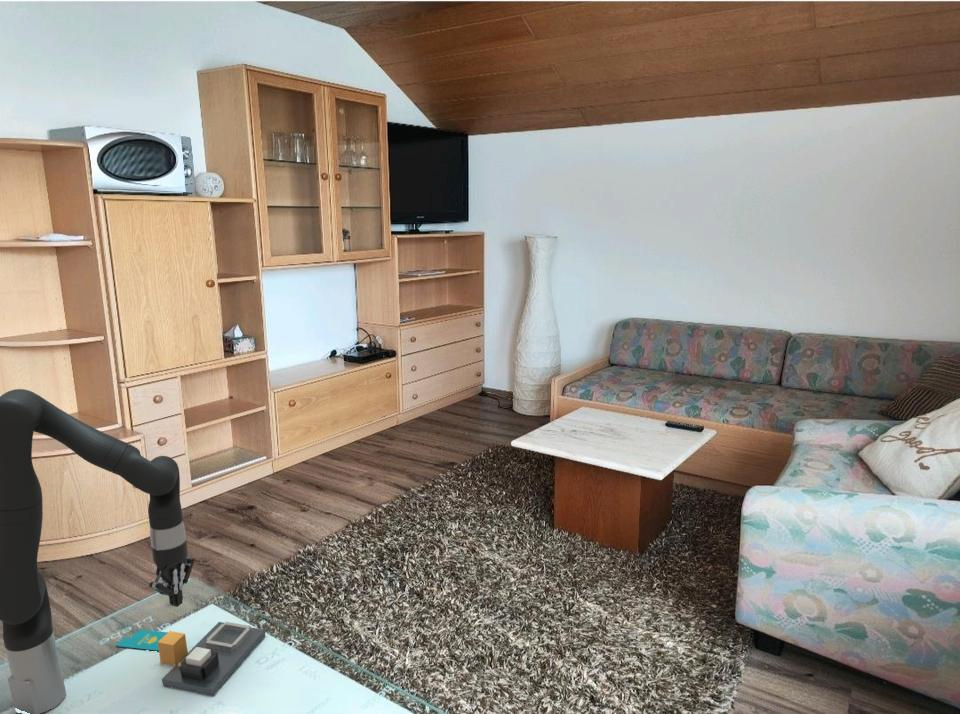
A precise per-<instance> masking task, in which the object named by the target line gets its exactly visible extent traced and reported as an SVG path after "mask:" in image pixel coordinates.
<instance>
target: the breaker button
mask: <svg viewBox="0 0 960 714" xmlns="http://www.w3.org/2000/svg"><path fill="white" fill-rule="evenodd" d="M210 657H211V650H210V649H205V648H200V647H196V648H195V649H194V650H193V651H192V652H191V653H190V654H189V655H188V656H187V657H186V664H188V665H193V666H198V667H201V666H202V665H203V664H204V663H205V662H206V661H207V660H208V659H209V658H210Z"/></svg>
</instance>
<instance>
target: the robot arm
mask: <svg viewBox="0 0 960 714" xmlns="http://www.w3.org/2000/svg"><path fill="white" fill-rule="evenodd" d="M34 433H38V434H42V435H44V436H47V437H49V438H51V439H54V440H55V441H57V442H59V443H61V444H62V445H64V446H65V447H66V448H68V449H70V450H71V451H72V452H73V453H74V454H75V455H77V456H78V457H80V458H81V459H83V460H84V461H86V462H87V463H89V464H92V465H94V466H95V467H97V468H100V469H103V470H105V471H107V472H110V473H111V474H115V475H117V476H120V477H121V478H122V479H123V480H125V482H127V483H129V484H130V485H132V486H134V487H135V488H136V489H138V490H140V491H141V492H143V493H145V494H147V495H149V502H148V507H147V513H148V521H149V522H148V523H149V538H150V545H151V547H150V548H151V554H152V561H153V563H154V564H155V566H156V571H155V574H156V577H155V579H154V581H151V582H150V583H149V586H148V587H150V588H151V589H152V590H154V591H156V592H157V593H158V594H160V595H163V596H168V600H169V605H170V606H172V607H177V608H178V607H179V606H180V605H182V604H183V601H184V600H183V598H184V596H183V588H184V584H185V585H186V584H188V582H189V579H190V576H191V572H192V570H193V567H194V563H195V558H192V557H188V555H189V550H188V542H187V533H186V526H185V523H184V518H183V509H182V504H181V503H182V502H181V495H180V494H181V493H180V492H181V491H180V490H181V482H180V481H181V478H180V475H181V474H180V469H179V468H180V467H179V464H178V463H177V462H176V460H174V458H172V457H170V456H167V455H158V456H156V457H154V458H152V459H151V460H149V459H147V458H145V457H144V456H142V455H141V451H140V449H139V448H137V447H136V446H134V445H132V444H129V443H127V442H125V441H123V440H121V439H118V438H117V437H115V436H113V435H110V434H107V433H105V432H103V431H101V430H99V429H97V428H95V427H92V426H91V425H88V424H87V423H85V422H83V421H81V420H79V419H78V418H76V417H74V416H72V415H70V414H69V413H67V412H65V411H64V410H62V409H60V408H59V407H58V406H56V405H55V404H53V403H51V402H50V401H48V399H45V398H43V397H42V396H41V395H39V394H37V393H35V392H33V391H32V390H30V389H29V390H28V389H24V388H23V389H22V388H15V389H11V390H9V391H7V392H4V393H3V394H2V395H0V621H1V622H2V639H3V643H4V647H5V648H4V649H5V652H6V656H7V660H8V666H9V669H10V676H9V677H7V682H8V686H9V690H10V691H9V692H10V694H11V699H12V704H13V707H14V708H17V709H19V710H21V711H25V712H27V713H30V714H40V713H43V712H45V711H47V712H49V711H51V710H53V709H55V708H56V707H58V706H59V705H60V704H61V703H62V702H63V700H64V699H65V697H66V694H67V690H66V686H65V685H66V684H65V681H64V675H63V671H62V667H61V662H60V657H59V652H58V647H57V644H56V643H57V642H56V637H55V632H54V628H53V622H52V621H53V619H52V608H51V604H50V603H51V602H50V597H49V592H48V587H47V582H46V580H45V578H44V576H43V574H41V572H39V571H38V556H39V555H38V554H39V547H40V542H41V536H42V528H43V515H44V514H43V513H44V512H43V511H44V510H43V508H44V507H43V492H42V486H41V483H40V480H39V478H38V476H37V473H36V470H35V468H34V465H33V458H32V456H33V455H32V454H33V453H32V452H33V436H34ZM50 709H51V710H50ZM48 710H49V711H48ZM45 713H46V712H45ZM43 714H44V713H43Z"/></svg>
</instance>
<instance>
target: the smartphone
mask: <svg viewBox="0 0 960 714" xmlns="http://www.w3.org/2000/svg"><path fill="white" fill-rule="evenodd" d="M168 632H169V631H159V630H150V629H140V630H139V632H135V634H133V635H132V638H131V637H129V639H127V638H126V637H125V636H124V637H122V638H121V640H120V641H118V642H117V643H116V648H120V649H127V650H137V651H145V652H147V651H146V650H149V651H148V652H151V651H157V652H156V653H159V648H158V641H160V640H161V639H162V638H163V637H164V636H165V635H166V634H167V633H168Z"/></svg>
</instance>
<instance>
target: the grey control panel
mask: <svg viewBox="0 0 960 714" xmlns="http://www.w3.org/2000/svg"><path fill="white" fill-rule="evenodd" d="M265 637H266V629H263V628H257V627H251V625H246V624H241V623H235V622H230V621H225V622H222V621H218V622H217V623H216V624H215V625H214V626H213V627H212V628H211V629H210V630H209V631H208V632H207V633H206V634H205V635H204V636H203V637H202V638H201V639H200V640H199V641H198V642H197V643H196V644H195V645H194V646H193V647H192V648H191V649H190V650H189V651H188V653H187V654H186V655H185V656H184V657H183V658H182V659H181V660H180V661H179V662H178V663H177V664H176V665H173V667H172V668H171V669H170V670H169V671H168V672H167V673H166V674H165V675H164V676H163V677H162V678H161V682H162V687H165V688H166V687H167V688H172V689H176V690H181V691H187V692H189V693H190V692H191V693H196V694H200V695H204V696H210V697H214V696H215V695H216V694H217V692H218V691H219V690H220V689H221V688H222V687H223V686H224V685H225V683H226V682H227V681H228V680H229V679H230V678H231V676H232V675H233V674H234V673H235V672H236V671H237V670H238V669H239V667H240V666H241V665H242V664H243V663H244V662H245V661H246V660H247V658H248V657H249V656H250V655H251V654H252V652H253V651H254V650H255V649H257V647H258V645H259V644H260V643H261V642H262V641H264V639H265ZM196 647H200V648H205V649H210V650H211V657H210V658H209V659H208V660H207V661H206V662H205V663H204V664H203V665H202V666H201V667H198V666H193V665H188V664H186V657H187V656H188V655H189V654H190V653H191V652H192V651H193V650H194V649H195V648H196Z"/></svg>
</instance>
